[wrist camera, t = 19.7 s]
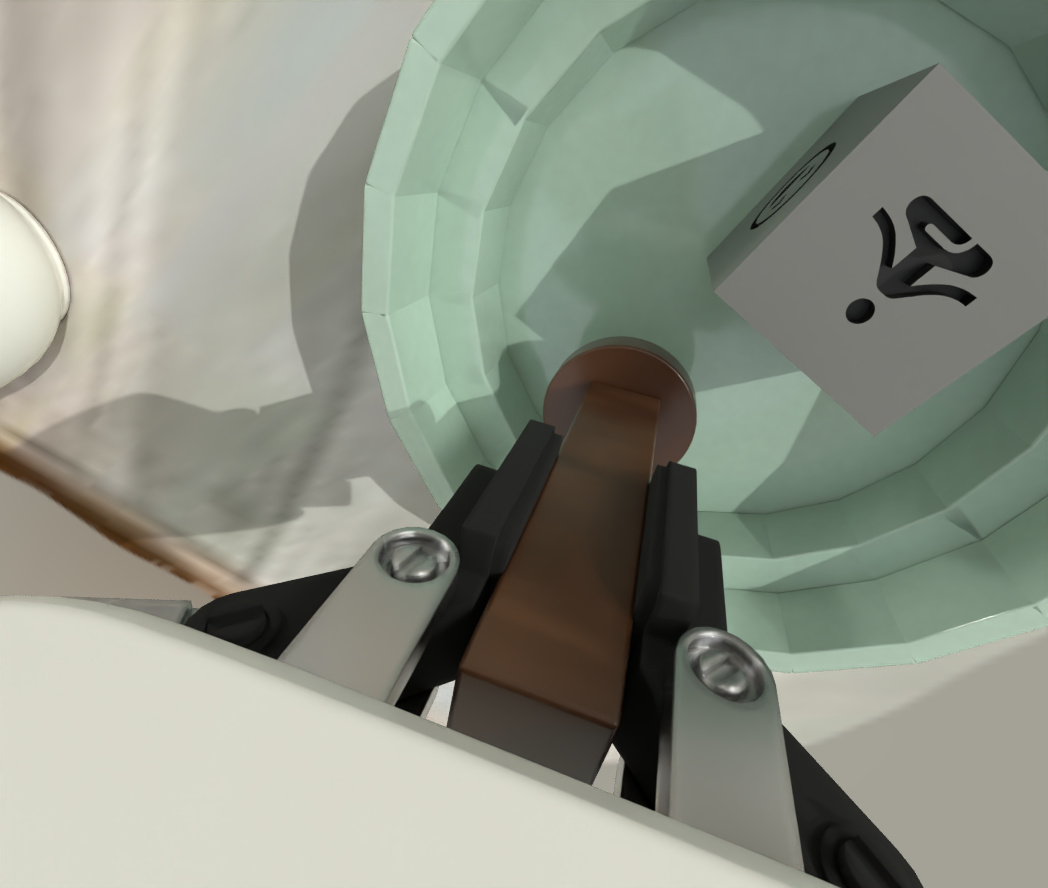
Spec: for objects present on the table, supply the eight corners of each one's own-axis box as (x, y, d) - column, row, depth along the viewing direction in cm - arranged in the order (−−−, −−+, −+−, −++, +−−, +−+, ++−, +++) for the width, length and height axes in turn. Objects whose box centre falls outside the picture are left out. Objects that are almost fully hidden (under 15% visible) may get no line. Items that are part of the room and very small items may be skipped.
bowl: (428, 461, 23) (354, 545, 18) (496, -180, 13) (376, -398, 8) (895, 610, 20) (964, 759, 15) (1423, -67, 10) (2132, -293, 5)
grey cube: (994, 230, 14) (1132, 259, 9) (825, 366, 16) (874, 436, 12) (857, 96, 13) (939, 62, 9) (706, 258, 16) (713, 291, 11)
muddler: (537, 446, 17) (357, 771, 8) (567, 318, 15) (368, 557, 6) (668, 486, 17) (641, 892, 7) (719, 358, 15) (775, 703, 5)
